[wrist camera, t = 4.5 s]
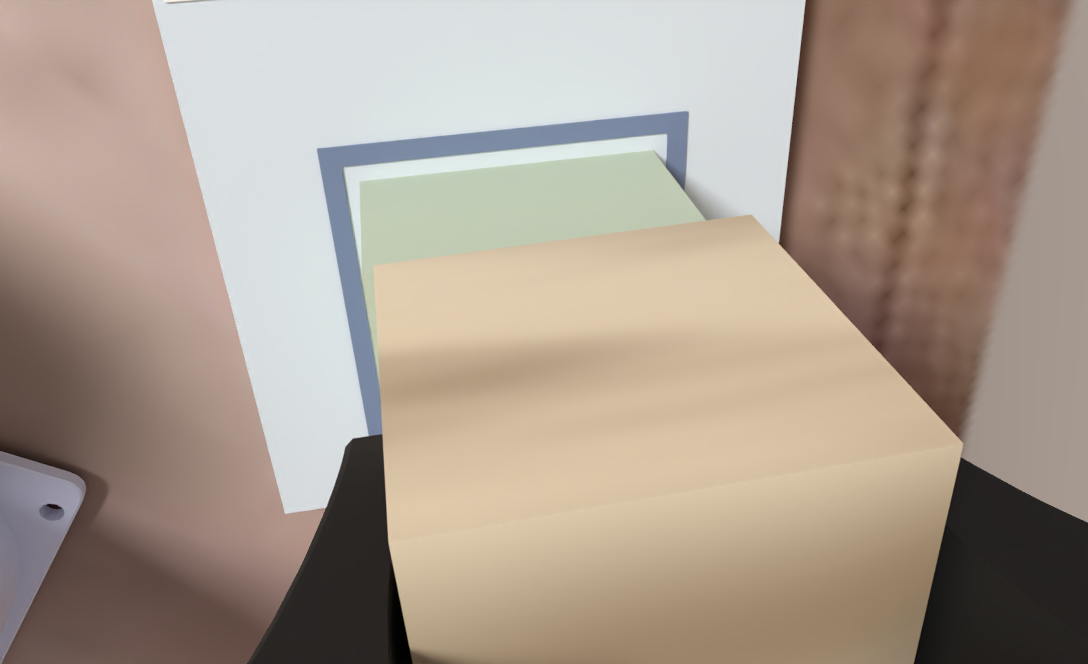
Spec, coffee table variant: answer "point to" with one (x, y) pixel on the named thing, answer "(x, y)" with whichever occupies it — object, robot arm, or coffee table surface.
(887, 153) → the coffee table surface
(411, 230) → the sage base block
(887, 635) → the maple block
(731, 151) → the board
